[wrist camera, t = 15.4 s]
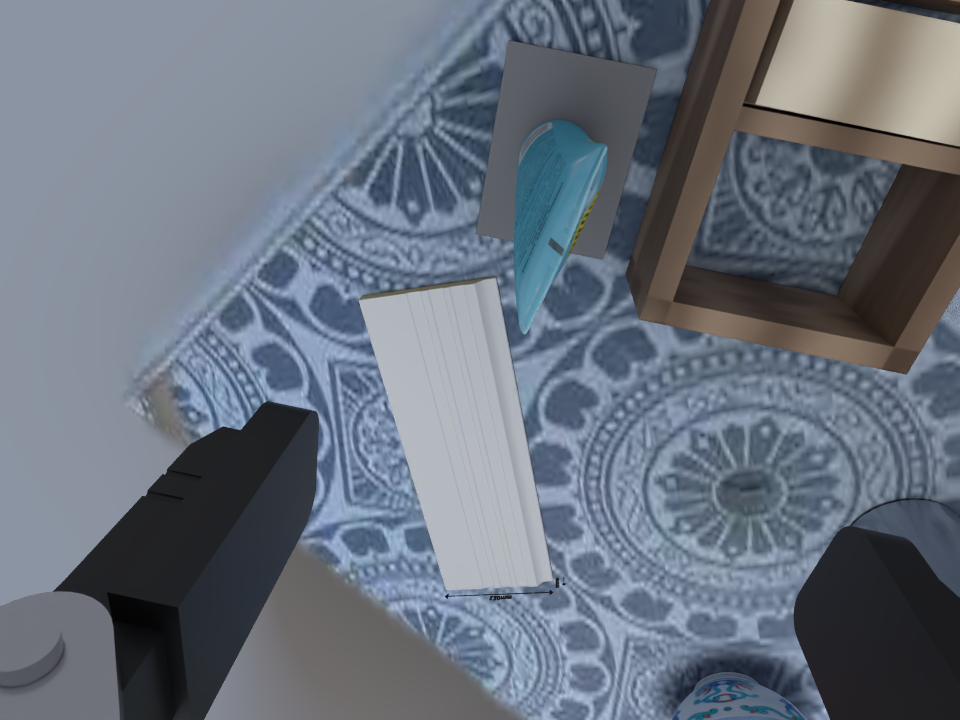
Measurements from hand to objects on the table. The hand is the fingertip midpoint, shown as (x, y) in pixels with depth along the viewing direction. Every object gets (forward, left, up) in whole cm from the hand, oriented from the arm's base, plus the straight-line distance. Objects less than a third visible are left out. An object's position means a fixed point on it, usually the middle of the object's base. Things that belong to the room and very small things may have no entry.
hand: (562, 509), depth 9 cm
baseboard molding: (+1, +25, -35) cm, 43 cm away
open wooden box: (-15, -3, -34) cm, 37 cm away
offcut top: (-14, -8, -30) cm, 34 cm away
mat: (0, 0, -34) cm, 34 cm away
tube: (0, 0, -33) cm, 33 cm away
